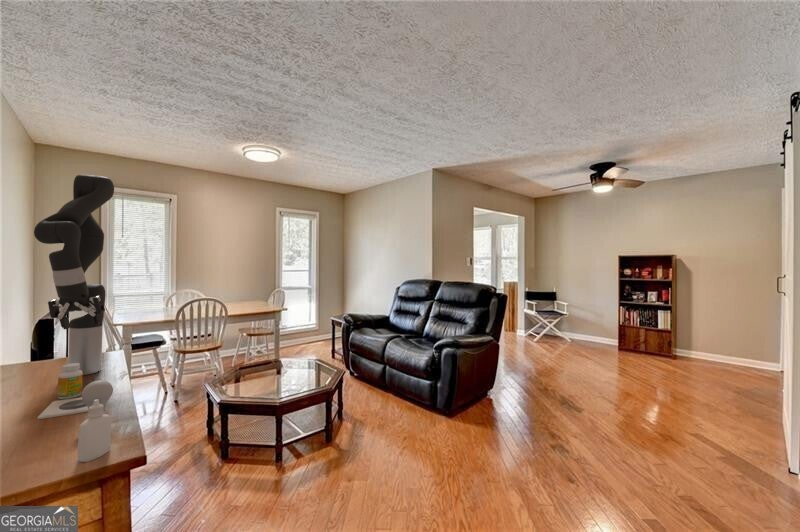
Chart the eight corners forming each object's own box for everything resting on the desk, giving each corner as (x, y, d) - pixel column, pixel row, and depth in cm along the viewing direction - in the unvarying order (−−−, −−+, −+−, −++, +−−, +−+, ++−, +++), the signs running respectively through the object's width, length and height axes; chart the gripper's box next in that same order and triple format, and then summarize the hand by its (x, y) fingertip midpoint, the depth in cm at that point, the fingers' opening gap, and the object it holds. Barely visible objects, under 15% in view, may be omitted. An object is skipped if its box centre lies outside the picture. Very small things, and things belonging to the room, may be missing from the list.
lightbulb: (76, 430, 84) (77, 386, 84) (85, 420, 89) (86, 378, 89) (108, 426, 86) (109, 382, 86) (115, 416, 92) (116, 375, 92)
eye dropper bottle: (74, 457, 72) (76, 401, 72) (108, 446, 77) (109, 393, 77) (79, 465, 70) (81, 406, 70) (114, 453, 74) (116, 398, 74)
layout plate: (53, 403, 99) (53, 400, 99) (110, 395, 106) (110, 393, 106) (37, 419, 89) (37, 416, 89) (102, 409, 96) (102, 407, 96)
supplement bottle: (66, 400, 102) (67, 367, 102) (52, 398, 103) (53, 366, 103) (86, 393, 107) (87, 363, 107) (73, 392, 108) (74, 361, 108)
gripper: (102, 277, 118) (112, 320, 121) (52, 280, 114) (64, 325, 118) (88, 282, 111) (99, 328, 114) (35, 286, 107) (48, 333, 111)
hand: (81, 326), depth 116 cm, fingers open, 8 cm apart
